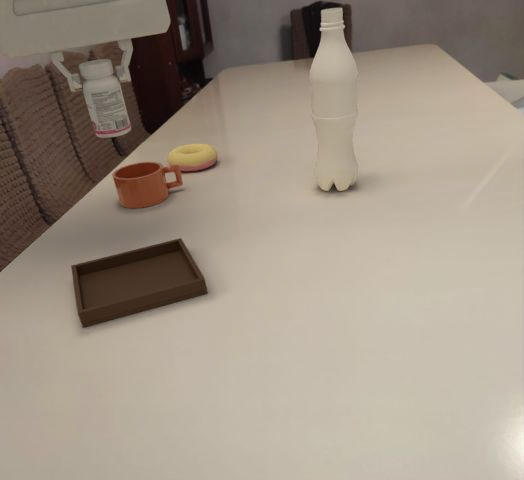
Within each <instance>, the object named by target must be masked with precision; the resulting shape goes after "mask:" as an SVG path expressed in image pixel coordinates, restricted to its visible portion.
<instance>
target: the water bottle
mask: <svg viewBox="0 0 524 480" xmlns="http://www.w3.org/2000/svg"><path fill="white" fill-rule="evenodd" d="M343 13H344V11H343V7H331V8H325V9H321V11H320V17H321V18H320V20H321V22H320V27H319V31H320V32H321V33H320V42H319V45H318V47H317V50H316V53H315V55H314V57H313V61H312V63H311V66H310V70H309V75H308V76H309V77H308V81H309V82H310V83H309V85H310V86H309V87H310V109H311V113H310V118H311V120H312V123H313V126H314V128H315V133H316V142H317V155H316V161H315V164H314V167H313V173H314V178H315V179H316V183H317V185H318V186H319V188H320V189H321V190H322V191H326V192H329V191H330V190H331V189H332V186H334V185H335V188H336V190H337V191H338V192H343V191H346V190H348V188H349V187H350V186H353V185H354V184H355V183H356V181H357V178H358V172H359V163H358V162H357V161H358V160H357V158H356V154H355V150H354V141H353V138H354V129H355V125H356V121H357V119H358V116H359V108H358V76H359V69H358V66H357V63H356V60H355V58H354V56H353V54H352V51H351V49H350V47H349V46H348V43H347V41H346V38H345V33H344V29H345V28H346V25H345V24H344V22H345V21H344V19H343V18H344V17H343Z"/></svg>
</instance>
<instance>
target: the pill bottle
mask: <svg viewBox="0 0 524 480" xmlns="http://www.w3.org/2000/svg"><path fill="white" fill-rule="evenodd" d="M78 69H79V73H80V76H81V78H82V79H84V80H83V81H82V83H81V84H82V88H83V90H82V93H83V98H84V100H85V104H86V107H87V110H88V114H89V117H90V120H91V121H90V122H91V124H92V127H93V131H94V135H95V136H96V137H98V138H101V139H108V138H116V137H120V136H121V137H122V136H124V135H126V134H128V133H129V132H131V130H132V124H131V121H130V118H129V114H128V110H127V106H126V103H125V97H124V95H123V90H122V86H121V83H120V82H119V79H118V78H117V75H114V73H115V71H114V67H113V63H112V60H111V59H110V58H102V59H101V58H100V59H94V60H89V61H85V62H81V63H79V64H78Z"/></svg>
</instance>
